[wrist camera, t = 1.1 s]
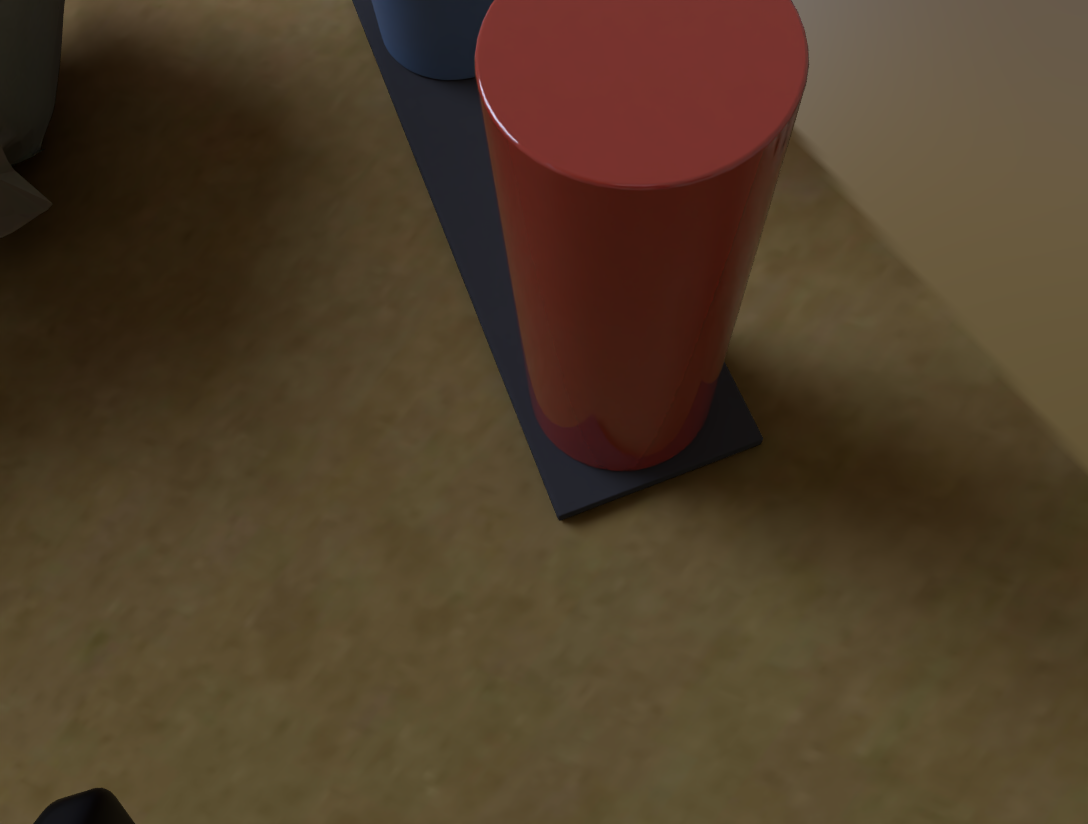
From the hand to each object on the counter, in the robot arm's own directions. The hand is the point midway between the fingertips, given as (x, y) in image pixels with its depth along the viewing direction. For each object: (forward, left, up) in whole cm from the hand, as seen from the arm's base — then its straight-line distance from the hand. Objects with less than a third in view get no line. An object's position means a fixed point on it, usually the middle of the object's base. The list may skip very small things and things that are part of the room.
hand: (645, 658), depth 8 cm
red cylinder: (+7, -6, -14) cm, 17 cm away
